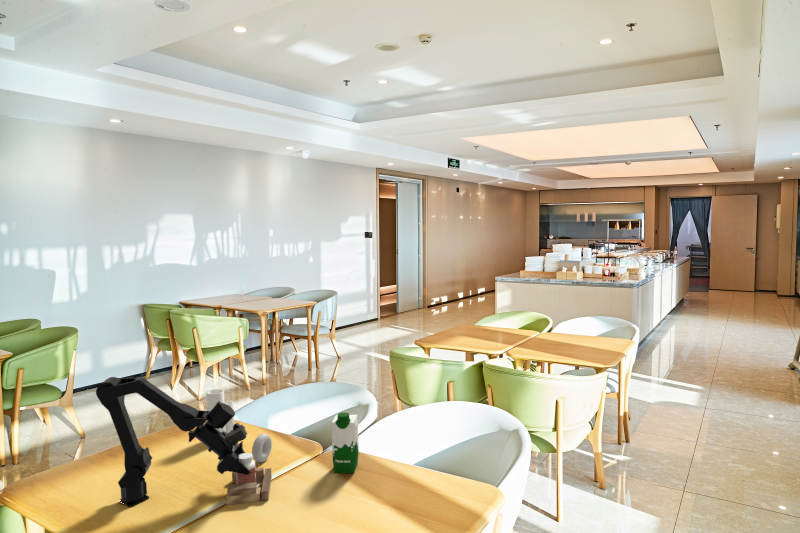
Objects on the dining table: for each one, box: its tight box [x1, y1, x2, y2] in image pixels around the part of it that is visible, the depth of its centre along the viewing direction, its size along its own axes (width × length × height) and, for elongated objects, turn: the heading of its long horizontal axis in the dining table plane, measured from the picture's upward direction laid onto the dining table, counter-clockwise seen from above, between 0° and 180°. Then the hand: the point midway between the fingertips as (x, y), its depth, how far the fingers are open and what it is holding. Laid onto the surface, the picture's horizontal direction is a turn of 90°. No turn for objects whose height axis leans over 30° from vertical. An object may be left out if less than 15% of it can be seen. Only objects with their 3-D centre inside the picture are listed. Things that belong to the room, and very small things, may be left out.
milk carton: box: [331, 412, 360, 474], centre depth 188 cm, size 9×9×20 cm
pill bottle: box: [235, 452, 257, 484], centre depth 175 cm, size 6×6×11 cm
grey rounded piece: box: [251, 433, 273, 463], centre depth 196 cm, size 10×4×10 cm, turn 161°
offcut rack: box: [225, 467, 273, 505], centre depth 175 cm, size 12×16×4 cm
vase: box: [205, 388, 235, 433], centre depth 217 cm, size 11×7×20 cm, turn 160°
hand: (250, 468), depth 175 cm, fingers closed on pill bottle, 6 cm apart
